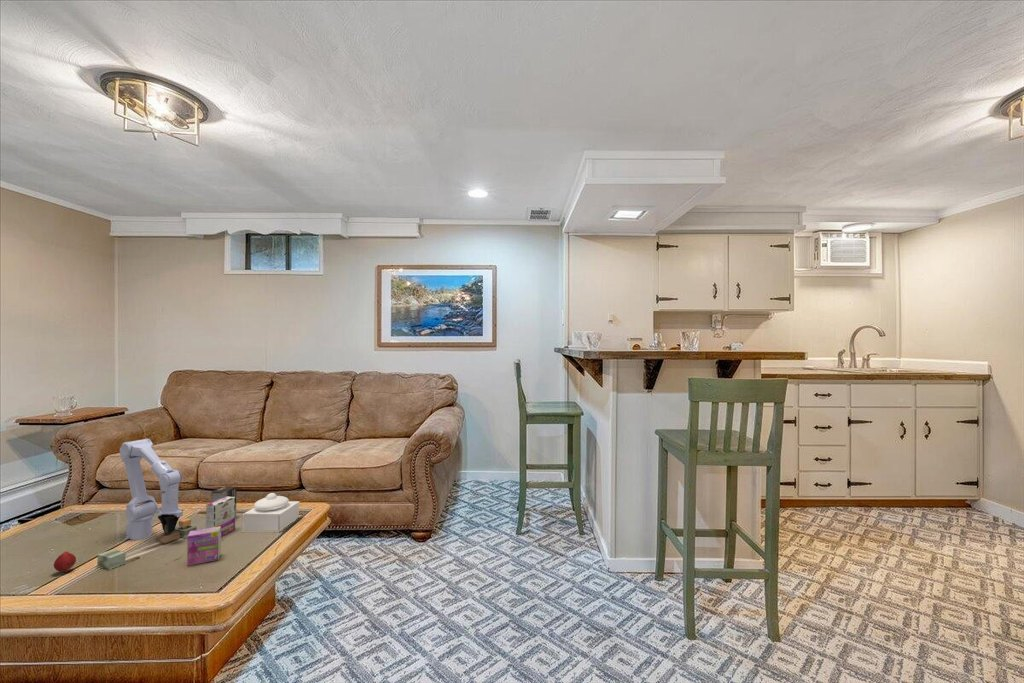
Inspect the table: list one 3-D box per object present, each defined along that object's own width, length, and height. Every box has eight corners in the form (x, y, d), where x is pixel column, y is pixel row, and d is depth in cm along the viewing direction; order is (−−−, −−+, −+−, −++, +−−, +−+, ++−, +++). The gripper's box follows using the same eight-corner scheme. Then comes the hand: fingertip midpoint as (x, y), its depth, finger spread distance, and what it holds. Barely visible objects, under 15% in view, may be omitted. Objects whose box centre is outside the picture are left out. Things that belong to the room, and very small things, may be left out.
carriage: (155, 540, 185) (155, 526, 185) (170, 535, 191) (171, 521, 191) (164, 543, 183) (164, 527, 183) (179, 537, 189) (180, 522, 189)
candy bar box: (226, 531, 200) (227, 495, 201) (235, 532, 200) (236, 496, 200) (204, 541, 190) (205, 504, 190) (214, 542, 189) (215, 504, 189)
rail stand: (97, 566, 167) (97, 554, 167) (184, 534, 197) (184, 524, 197) (109, 569, 164) (110, 558, 164) (196, 536, 194) (196, 526, 194)
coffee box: (225, 517, 217) (225, 485, 218) (236, 518, 216) (237, 486, 217) (210, 524, 208) (210, 491, 209) (222, 525, 207) (222, 491, 208)
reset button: (178, 530, 192) (178, 520, 193) (186, 528, 195) (186, 518, 196) (183, 531, 191) (183, 521, 192) (190, 529, 194) (191, 519, 194)
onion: (55, 577, 159) (56, 555, 159) (51, 573, 162) (52, 551, 162) (77, 570, 164) (78, 549, 164) (73, 566, 167) (73, 546, 167)
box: (186, 566, 167) (187, 535, 168) (189, 560, 172) (190, 530, 173) (218, 560, 172) (219, 530, 172) (220, 554, 177) (221, 525, 177)
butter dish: (265, 518, 217) (265, 486, 217) (299, 518, 216) (300, 487, 217) (242, 532, 199) (242, 498, 200) (279, 533, 199) (280, 498, 199)
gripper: (148, 500, 187) (148, 532, 186) (170, 504, 182) (169, 537, 181) (166, 495, 193) (165, 526, 193) (188, 499, 188) (187, 530, 188)
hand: (169, 531), depth 187 cm, fingers closed on carriage, 2 cm apart
